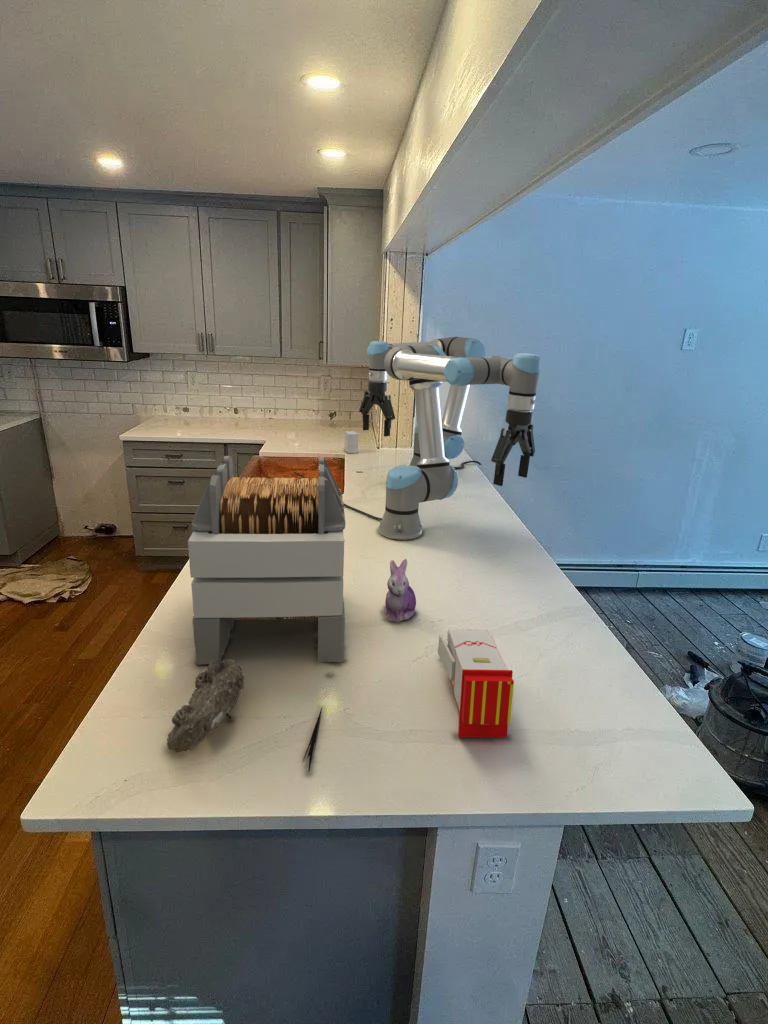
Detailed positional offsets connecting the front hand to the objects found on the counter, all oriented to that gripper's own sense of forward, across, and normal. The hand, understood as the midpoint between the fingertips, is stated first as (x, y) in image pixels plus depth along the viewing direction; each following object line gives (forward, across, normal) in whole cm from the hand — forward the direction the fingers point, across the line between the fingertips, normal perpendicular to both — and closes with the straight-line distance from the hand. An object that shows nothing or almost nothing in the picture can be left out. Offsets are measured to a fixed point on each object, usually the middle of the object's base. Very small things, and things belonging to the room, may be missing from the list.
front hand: (510, 480), depth 169 cm
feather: (+27, -87, -16) cm, 93 cm away
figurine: (+28, -46, 0) cm, 54 cm away
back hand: (+4, +23, +79) cm, 82 cm away
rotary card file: (+28, -73, +17) cm, 80 cm away
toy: (+27, -59, -31) cm, 72 cm away
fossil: (+27, -102, -2) cm, 105 cm away
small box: (+30, +64, +136) cm, 153 cm away
